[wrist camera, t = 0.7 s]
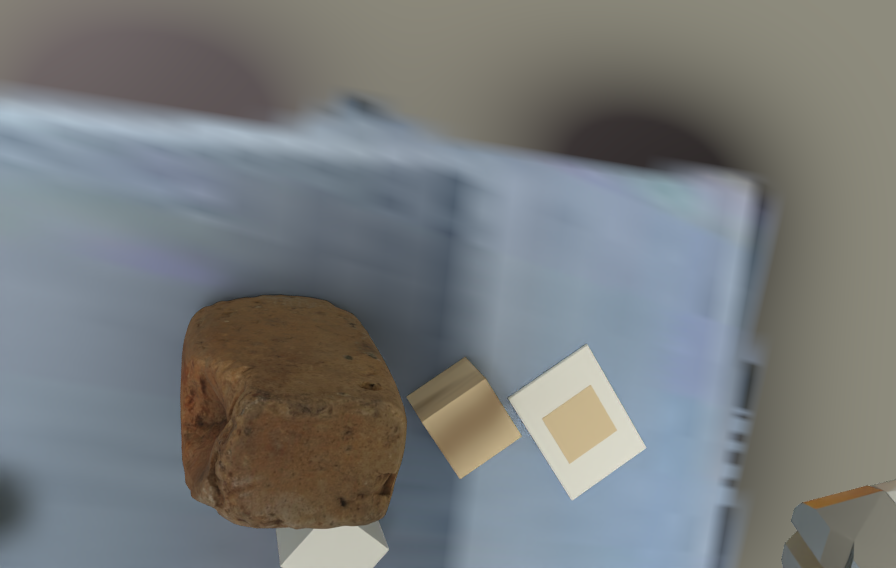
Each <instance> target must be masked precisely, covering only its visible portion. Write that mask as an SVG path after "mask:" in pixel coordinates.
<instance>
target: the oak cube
mask: <svg viewBox="0 0 896 568" xmlns="http://www.w3.org/2000/svg"><path fill="white" fill-rule="evenodd" d="M407 399H408V401H409V402H410V404H411V405H412V407H413V409H414V410H415V412H416V414H417V415H418V417H419V418H420V420H421V422H422V423H423V425H424V426H425V428H426V429H427V431H428V432H429V434H430V435H431V437H432V438H433V440H434V441H435V443H436V444H437V446H438V447H439V448H440V450H441V451H442V453H443V454H444V456H445V457H446V459H447V460H448V462H449V463H450V465H451V466H452V468H453V469H454V471H455V472H456V474H457V475H458V477H459V478H460V479H461V478H463V477H464V476H466V475H467V474H469V473H470V472H471V471H473V470H474V469H476V468H477V467H479V466H480V465H482V464H483V463H484V462H486V461H487V460H489V459H490V458H492V457H493V456H495V455H496V454H497V453H499V452H500V451H502V450H503V449H505V448H506V447H507V446H509V445H510V444H512V443H513V442H515V441H516V440H518V439H519V438H520V437H522V436H521V434H520V432H519V431H518V429H517V428H516V426H515V424H514V423H513V421H512V420H511V418H510V416H509V415H508V413H507V412H506V410H505V408H504V407H503V405H502V404H501V402H500V401H499V399H498V397H497V396H496V394H495V393H494V391H493V389H492V388H491V386H490V385H489V383H488V381H487V380H486V378H485V377H484V376H483V375H482V374H481V373H480V372H479V371H478V370H477V369H476V368H475V367H474V366H473V365H472V364H471V362H470V361H469V360H468V359H467V358H466V357H464V358H463V359H461V360H460V361H458V362H457V363H455V364H454V365H452V366H451V367H450V368H448V369H447V370H445V371H444V372H442V373H441V374H439V375H438V376H436V377H435V378H433V379H432V380H430V381H429V382H427V383H426V384H424V385H423V386H421V387H420V388H419V389H417V390H416V391H414V392H413V393H411V394H410V395H408V396H407Z"/></svg>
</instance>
